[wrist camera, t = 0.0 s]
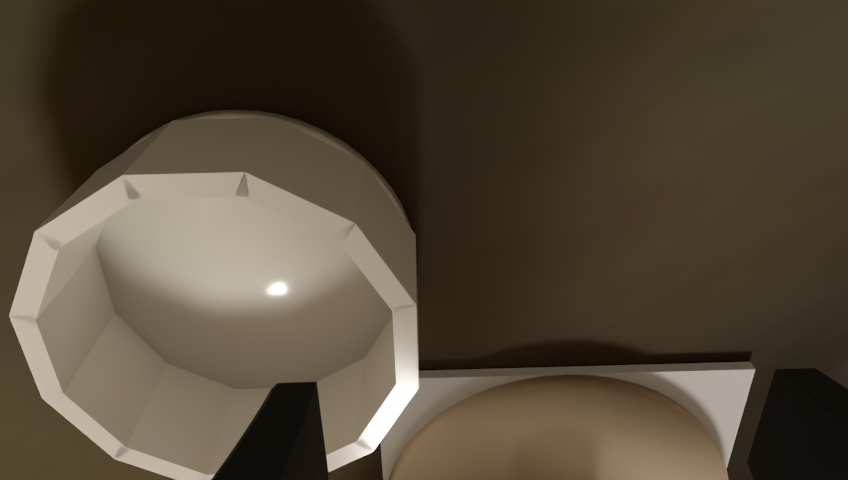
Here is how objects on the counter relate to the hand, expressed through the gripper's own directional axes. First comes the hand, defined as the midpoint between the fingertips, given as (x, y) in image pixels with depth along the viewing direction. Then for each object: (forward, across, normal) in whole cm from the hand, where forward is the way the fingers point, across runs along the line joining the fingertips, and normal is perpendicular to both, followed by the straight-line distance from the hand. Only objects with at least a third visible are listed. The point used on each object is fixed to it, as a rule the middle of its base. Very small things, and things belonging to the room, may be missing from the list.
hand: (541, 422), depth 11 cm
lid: (+10, -3, +14) cm, 17 cm away
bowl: (+10, +7, +3) cm, 13 cm away
